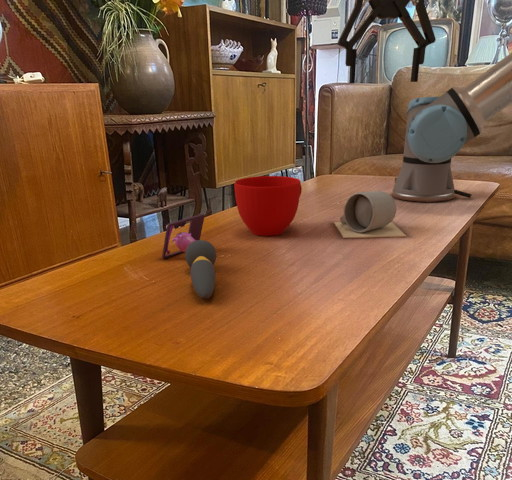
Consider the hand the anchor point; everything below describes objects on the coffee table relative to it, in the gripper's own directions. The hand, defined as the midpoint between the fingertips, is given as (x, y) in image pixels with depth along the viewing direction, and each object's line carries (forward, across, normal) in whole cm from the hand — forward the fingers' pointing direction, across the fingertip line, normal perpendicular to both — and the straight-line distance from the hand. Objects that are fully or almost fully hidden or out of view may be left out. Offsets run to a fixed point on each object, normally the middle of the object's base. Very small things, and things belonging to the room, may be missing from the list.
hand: (382, 82), depth 113 cm
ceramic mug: (+27, -7, -22) cm, 35 cm away
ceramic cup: (+27, -25, -20) cm, 42 cm away
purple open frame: (+27, -41, -36) cm, 61 cm away
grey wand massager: (+27, -37, -50) cm, 68 cm away
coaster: (+27, -6, -22) cm, 35 cm away
